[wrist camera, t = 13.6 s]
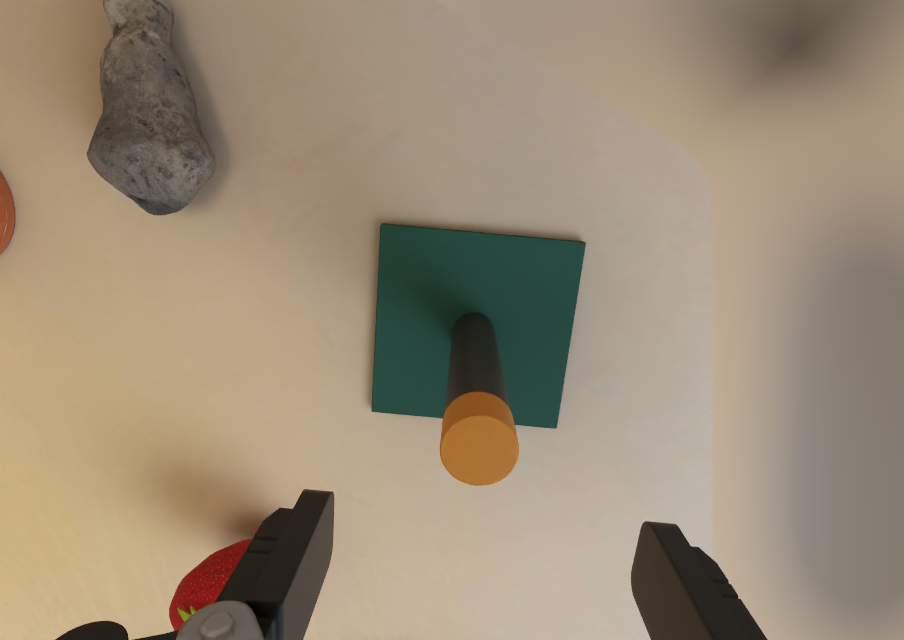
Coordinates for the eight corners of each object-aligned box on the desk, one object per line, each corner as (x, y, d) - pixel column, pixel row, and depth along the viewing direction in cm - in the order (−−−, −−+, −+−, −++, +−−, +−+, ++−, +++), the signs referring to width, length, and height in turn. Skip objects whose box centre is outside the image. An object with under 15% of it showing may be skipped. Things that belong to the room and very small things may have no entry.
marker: (453, 309, 30) (443, 411, 16) (497, 313, 30) (523, 419, 16) (449, 351, 31) (437, 482, 17) (492, 355, 31) (514, 489, 17)
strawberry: (330, 566, 36) (280, 706, 26) (231, 581, 36) (147, 724, 27) (307, 496, 34) (245, 618, 25) (205, 513, 35) (106, 638, 25)
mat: (381, 223, 29) (380, 223, 29) (584, 241, 29) (586, 242, 29) (372, 408, 32) (371, 411, 32) (555, 425, 32) (556, 428, 32)
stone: (138, -2, 27) (-17, 52, 23) (163, -48, 23) (-19, 8, 19) (249, 164, 32) (136, 232, 28) (286, 150, 28) (160, 226, 24)
